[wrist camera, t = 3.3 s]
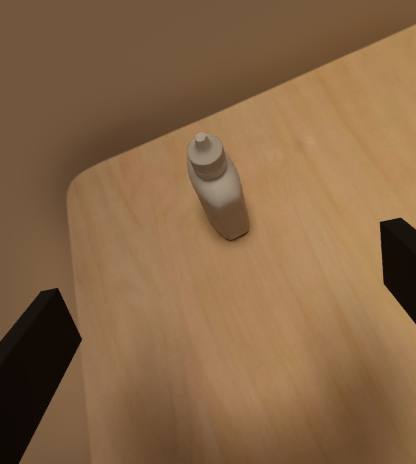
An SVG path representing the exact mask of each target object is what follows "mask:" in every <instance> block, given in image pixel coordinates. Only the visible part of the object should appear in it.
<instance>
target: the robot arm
mask: <svg viewBox="0 0 416 464" xmlns="http://www.w3.org/2000/svg"><path fill="white" fill-rule="evenodd" d="M380 232H381V248H382V265H383V281H384V285H385V286H386V287H387V288H388V290H389V291H390V292H391V293H392V295H393V296H394V297H395V298H396V300H397V301H398V302H399V303H400V305H401V306H402V307H403V309H404V310H405V311H406V312H407V314H408V315H409V316H410V317H411V319H412V320H413V321H414V322H415V324H416V229H415V228H413V227H412V226H411V225H410V224H408V223H407V222H406V221H404V220H403V219H402V218H397V219H392V220H387V221H382V222H380ZM81 341H82V338H81V336H80V334H79V332H78V330H77V328H76V326H75V324H74V321H73V319H72V317H71V315H70V313H69V311H68V308H67V306H66V304H65V302H64V300H63V298H62V296H61V294H60V292H59V289H58V288H55V289H51V290H46V291H41V292H40V293H39V295H38V296H37V297H36V298H35V300H34V301H33V302H32V303H31V304H30V306H29V307H28V308H27V309H26V311H25V312H24V313H23V314H22V315H21V317H20V318H19V319H18V320H17V322H16V323H15V324H14V325H13V327H12V328H11V329H10V330H9V331H8V333H7V334H6V335H5V336H4V338H3V339H2V340H1V341H0V464H19V462H20V460H21V458H22V456H23V454H24V452H25V450H26V448H27V446H28V444H29V442H30V441H31V438H32V436H33V435H34V433H35V431H36V429H37V427H38V425H39V423H40V421H41V419H42V417H43V415H44V413H45V411H46V409H47V407H48V405H49V403H50V401H51V399H52V397H53V395H54V394H55V391H56V390H57V388H58V386H59V384H60V382H61V380H62V378H63V376H64V374H65V372H66V370H67V368H68V366H69V364H70V362H71V360H72V358H73V356H74V354H75V352H76V350H77V348H78V346H79V345H80V343H81Z"/></svg>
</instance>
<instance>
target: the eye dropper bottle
mask: <svg viewBox="0 0 416 464" xmlns="http://www.w3.org/2000/svg"><path fill="white" fill-rule="evenodd" d="M187 168H188V174H189V177H190V180H191V182H192V185H193V187H194V189H195V191H196V193H197V195H198V197H199V200H200V202H201V204H202V206H203V208H204V210H205V212H206V214H207V216H208V218H209V220H210V222H211V224H212V225H213V227H214V228H215V229H216V230H217V231H218V232H219V233H220V234H221V235H222V236H223V237H224V238H226V239H228V240H233V239H235V238H237V237H239V236H241V235H243V234H245V233H246V232H247V231H248V230H249V219H248V214H247V209H246V204H245V199H244V195H243V190H242V186H241V181H240V178H239V174H238V172H237V169H236V167H235V165H234V163H233V162H232V160H231V159H230V158H229V156H228V155H227V154H226V153H225V152H224V149H223V145H222V142H221V141H220V140H219V138H218V137H216V136H213V135H210V134H205V133H203V132H199V133H197V134H196V135H195V139H193V140H192V141H191V142H190V144H189V146H188V149H187Z"/></svg>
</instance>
